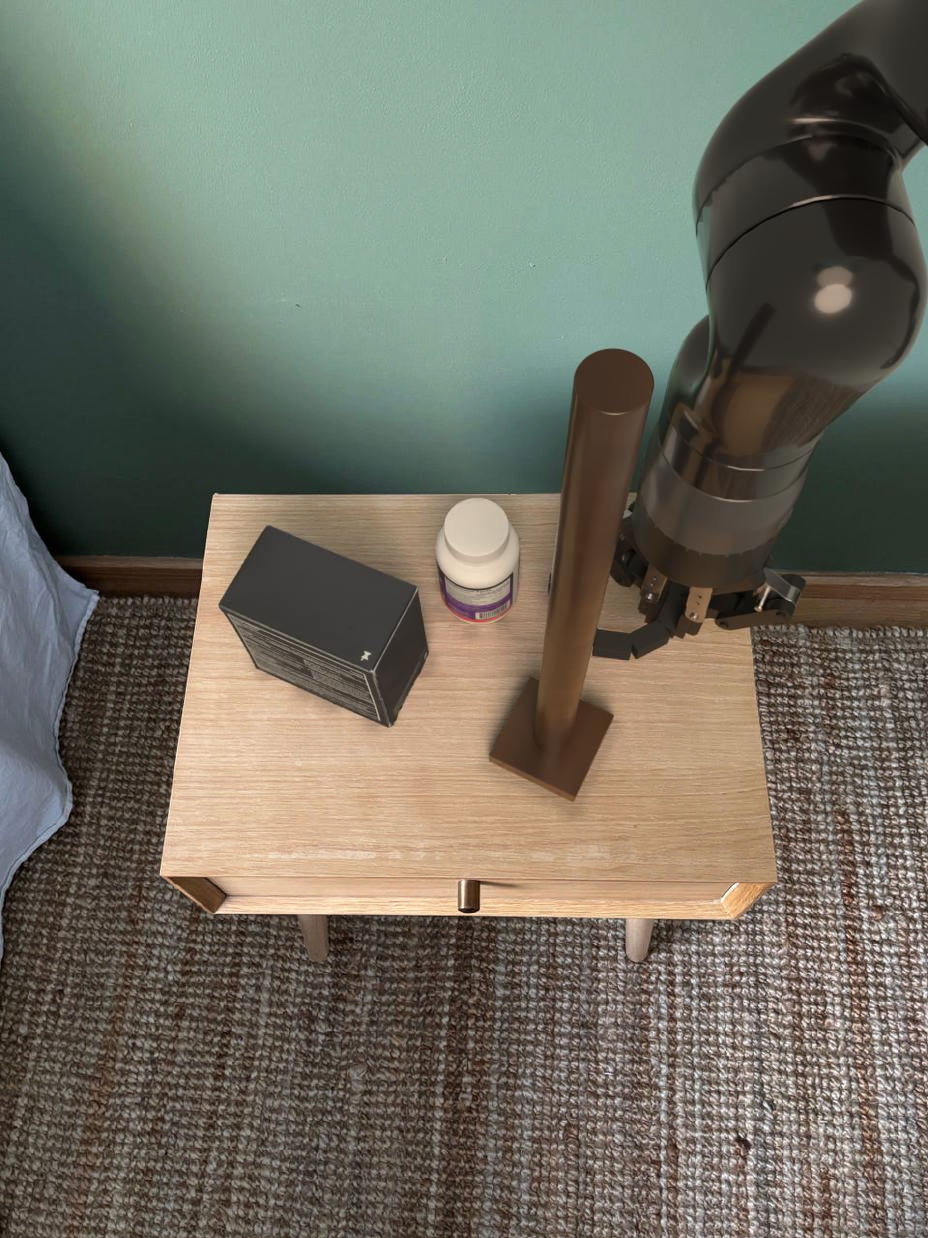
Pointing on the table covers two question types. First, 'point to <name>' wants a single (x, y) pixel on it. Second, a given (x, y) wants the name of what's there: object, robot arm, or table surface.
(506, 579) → the pill bottle
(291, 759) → the table surface
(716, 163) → the robot arm
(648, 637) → the ring
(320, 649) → the small box
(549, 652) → the brown upright dowel
